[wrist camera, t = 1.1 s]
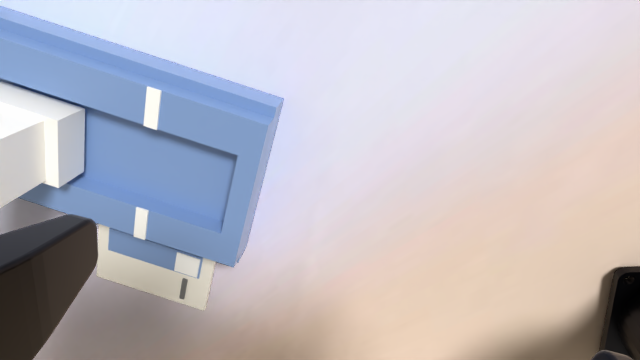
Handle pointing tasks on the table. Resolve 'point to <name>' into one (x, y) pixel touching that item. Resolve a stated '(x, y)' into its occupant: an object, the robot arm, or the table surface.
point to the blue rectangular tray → (148, 138)
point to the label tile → (154, 268)
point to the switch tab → (37, 141)
